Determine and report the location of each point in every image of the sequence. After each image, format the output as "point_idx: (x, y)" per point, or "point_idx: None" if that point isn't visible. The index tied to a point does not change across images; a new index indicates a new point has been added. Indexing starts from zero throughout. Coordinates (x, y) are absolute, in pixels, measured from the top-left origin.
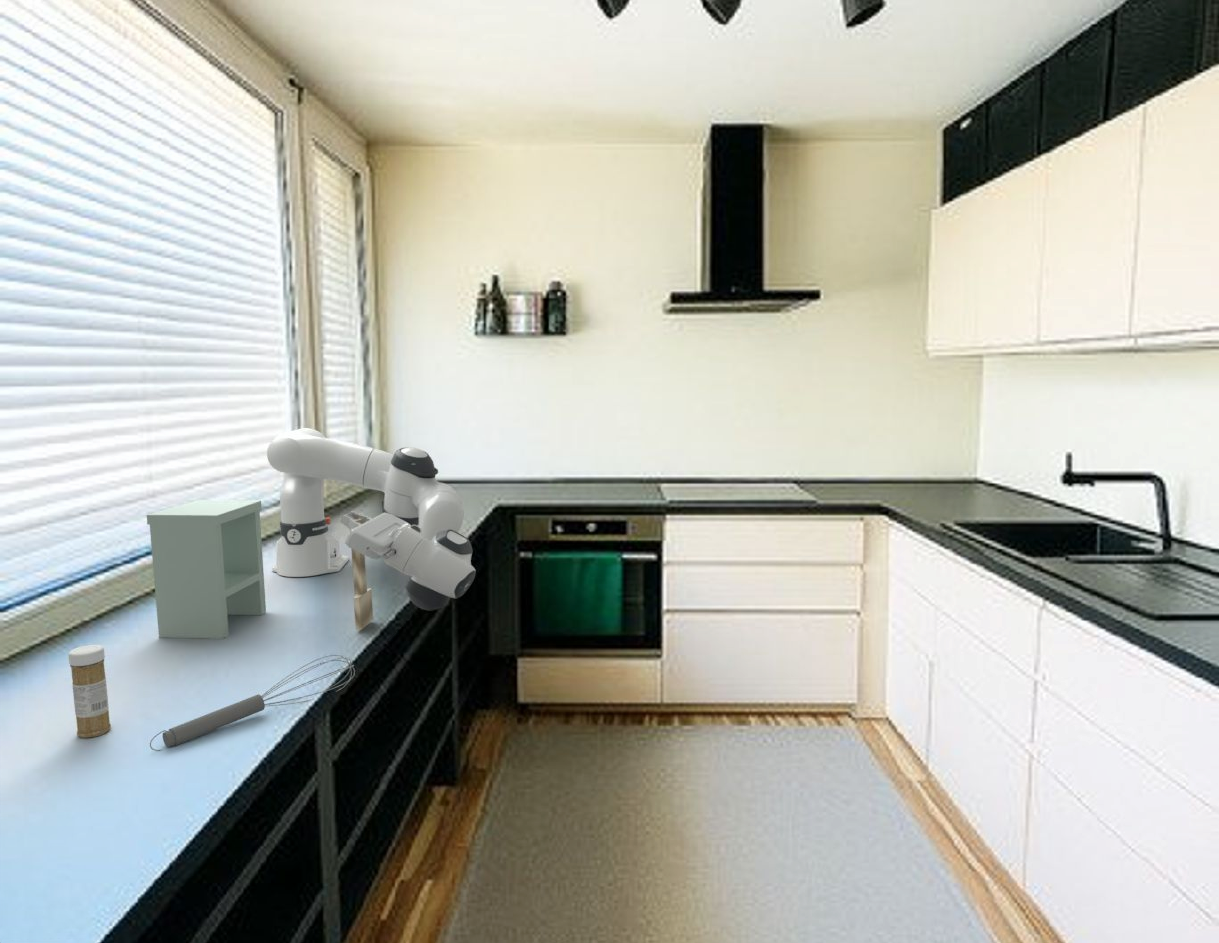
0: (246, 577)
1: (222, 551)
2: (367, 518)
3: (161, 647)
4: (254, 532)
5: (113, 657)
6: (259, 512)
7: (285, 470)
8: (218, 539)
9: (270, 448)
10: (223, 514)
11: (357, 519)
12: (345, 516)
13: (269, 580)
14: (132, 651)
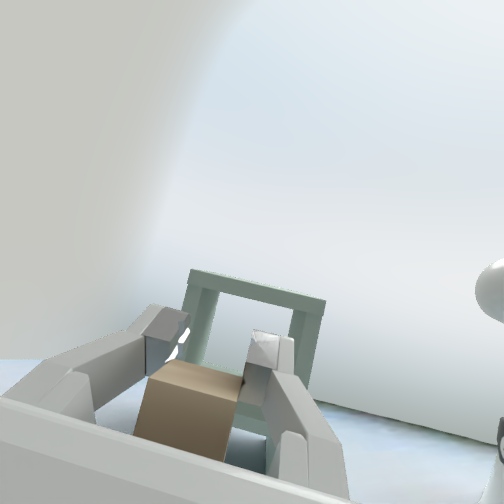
0: (252, 414)
1: (191, 331)
2: (280, 440)
3: (136, 418)
4: (298, 349)
5: (123, 392)
6: (320, 321)
7: (497, 315)
8: (188, 308)
9: (479, 276)
10: (207, 274)
11: (209, 383)
12: (145, 310)
13: (444, 495)
14: (136, 401)
